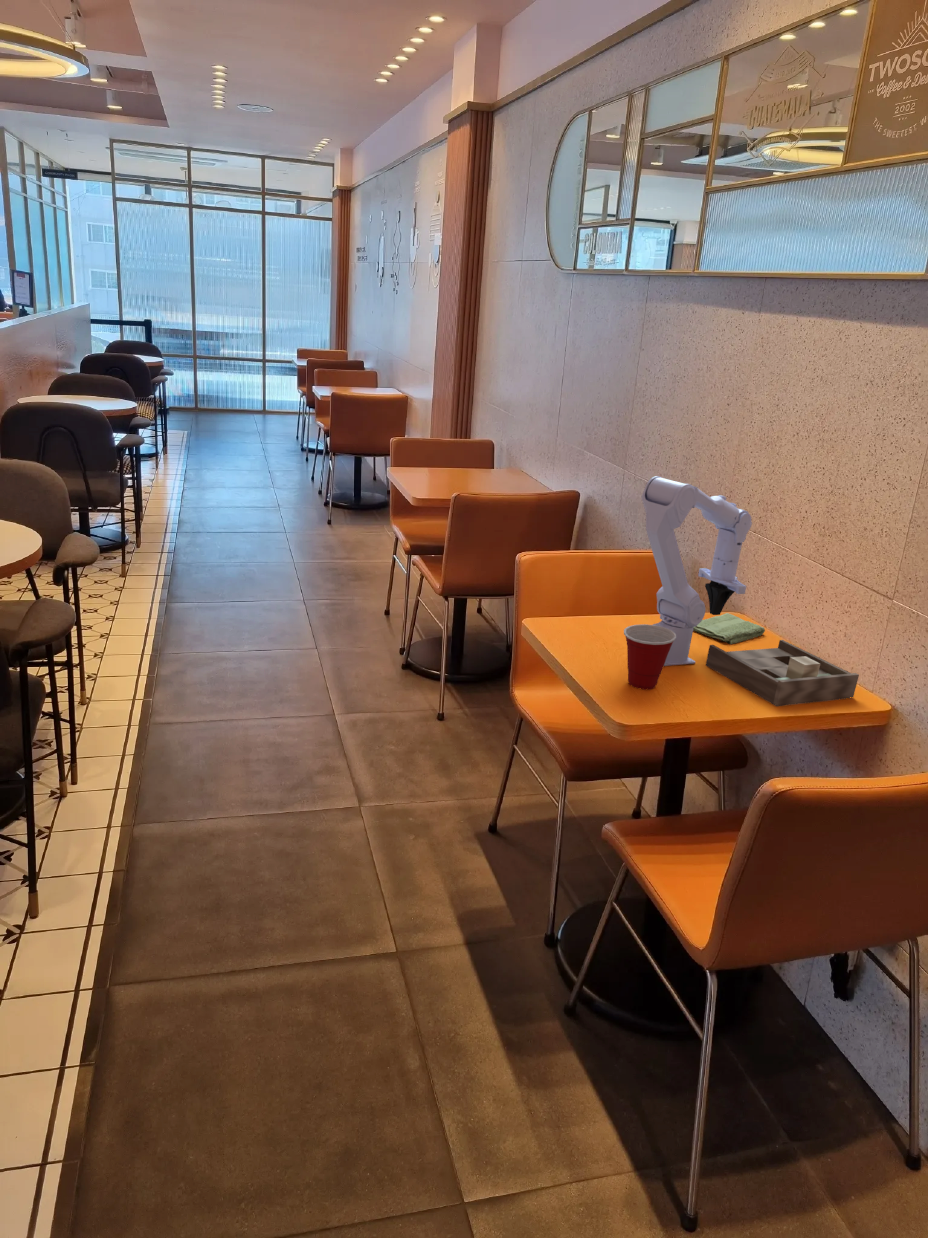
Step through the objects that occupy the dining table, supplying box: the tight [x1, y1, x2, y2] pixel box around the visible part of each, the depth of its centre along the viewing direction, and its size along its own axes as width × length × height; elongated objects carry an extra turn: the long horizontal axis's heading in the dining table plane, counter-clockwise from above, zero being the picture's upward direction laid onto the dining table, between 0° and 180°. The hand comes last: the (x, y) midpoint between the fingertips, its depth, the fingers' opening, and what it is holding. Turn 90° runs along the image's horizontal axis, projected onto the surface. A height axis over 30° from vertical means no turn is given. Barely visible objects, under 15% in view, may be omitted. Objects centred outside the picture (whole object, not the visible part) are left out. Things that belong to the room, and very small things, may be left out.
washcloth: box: [693, 612, 766, 645], centre depth 231 cm, size 13×18×3 cm
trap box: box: [705, 639, 860, 707], centre depth 200 cm, size 22×23×6 cm
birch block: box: [786, 656, 820, 679], centre depth 194 cm, size 4×4×4 cm
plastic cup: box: [623, 623, 676, 691], centre depth 189 cm, size 11×11×12 cm
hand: (714, 614), depth 213 cm, fingers closed
